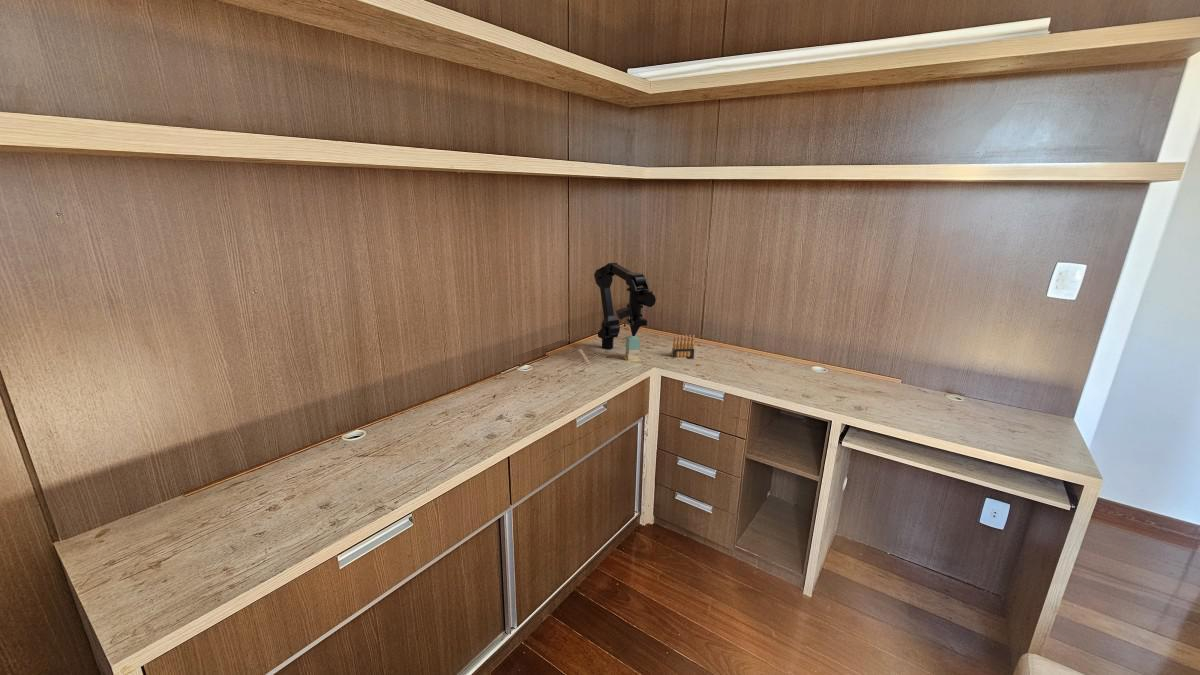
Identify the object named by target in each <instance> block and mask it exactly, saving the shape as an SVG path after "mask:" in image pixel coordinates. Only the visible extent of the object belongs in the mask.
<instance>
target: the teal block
mask: <svg viewBox="0 0 1200 675" xmlns="http://www.w3.org/2000/svg"><path fill="white" fill-rule="evenodd" d="M640 347H641V338H640V337H639V336H637V335H635V336H632V335H629V336H626V338H625V349H626V348H627V349H628V350H639V351H640Z"/></svg>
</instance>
